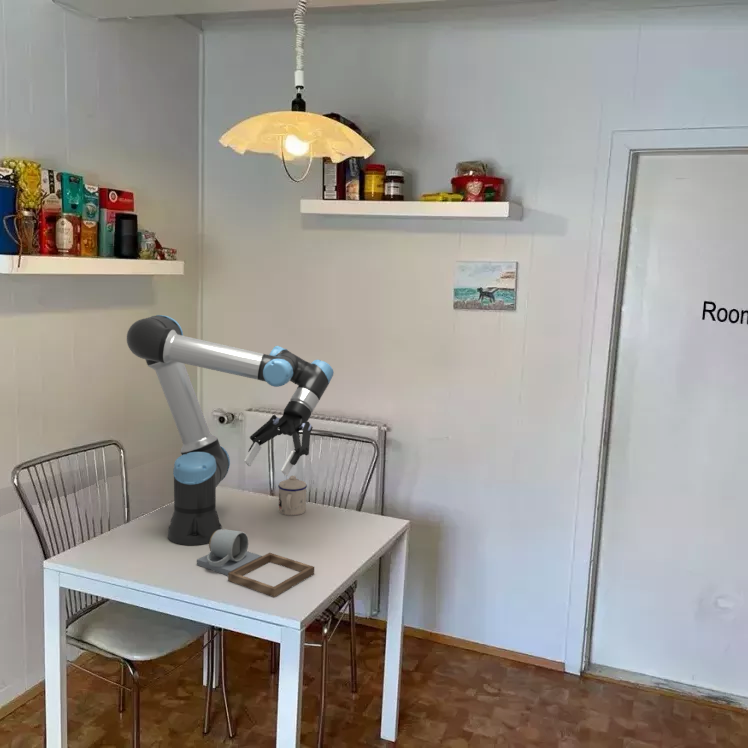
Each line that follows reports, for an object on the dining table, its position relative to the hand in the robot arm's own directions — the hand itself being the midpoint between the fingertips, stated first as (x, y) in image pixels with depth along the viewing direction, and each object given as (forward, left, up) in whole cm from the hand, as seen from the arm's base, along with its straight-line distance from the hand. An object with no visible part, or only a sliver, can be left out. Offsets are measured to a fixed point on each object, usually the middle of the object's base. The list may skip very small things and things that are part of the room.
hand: (265, 468), depth 201 cm
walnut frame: (+15, -14, -23) cm, 30 cm away
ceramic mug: (0, -16, -21) cm, 26 cm away
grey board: (0, -14, -23) cm, 27 cm away
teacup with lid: (-11, +26, -23) cm, 36 cm away
